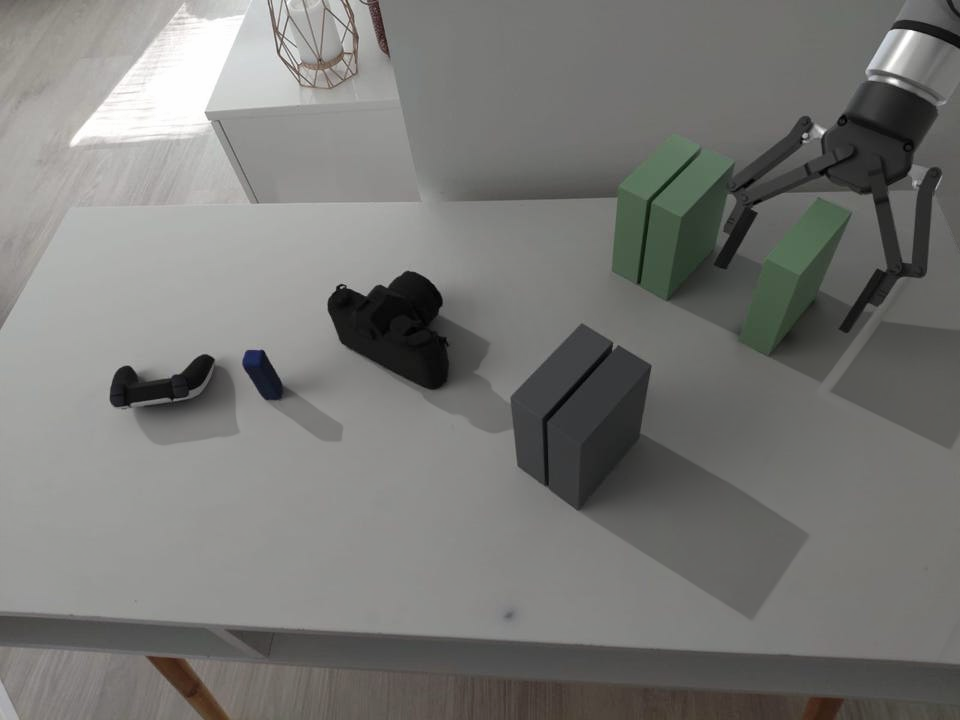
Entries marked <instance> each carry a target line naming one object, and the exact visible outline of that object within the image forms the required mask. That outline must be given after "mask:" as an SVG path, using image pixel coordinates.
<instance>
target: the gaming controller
mask: <svg viewBox="0 0 960 720" xmlns="http://www.w3.org/2000/svg"><path fill="white" fill-rule="evenodd" d="M215 364H216V359H215V358H214V357H213V356H212V355H210V354H208V353H203V354H200V355H199V356H197V357H195V358H194V359H193V360H192V361H191V362H190V363H189V364H188V365H187V367H186V368H185V369H184V370H182V371H181V372H180V373H175V374H173V375H172V376H171V377H168V378H161V379H155V380H148V381H141V382H140V380H139V377H138V374H137V372H136V370H134V368H133V367H132V366H131V365H123V366H121V367H120V368H118V369H117V370H116V371H115V373H114V375H113V377H112V380H111V385H110V388H109V403H110V405H111V407H112V408H113V409H114V410H127V409H133V408H138V407H139V408H140V407H143V408H149V407H153V406H155V405H159V404H167V403H173V402H174V403H176V404H177V403H182V402H185V401H189V400H190V399H192V398H194V399H195V398H197V397H198V396H200V394H201V393H202V392H203V391H204V390H205V388H206V387H207V385H208V383H209V381H210V379H211V377H212V374H213V372H214V367H215Z"/></svg>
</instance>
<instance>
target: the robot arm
mask: <svg viewBox="0 0 960 720" xmlns="http://www.w3.org/2000/svg"><path fill="white" fill-rule="evenodd" d="M865 75H866V77H867V78H866V79H865V80H862V81H861V82H858V84H857V85H856V88H855V89H854V91H853V93H852V94H851V96H850V97H849V99H848V101H847V103H846V104H845V106H844V108H843V109H842V111H841V113H840V115H839V117H837V120H836V122H835V123H834V124H833V125H832V126H830V127H829V128H828V129H827V128H825V127H824V126H821V125H820V124H818V123H816V122H815V121H813V120H812V118H811V117H810V116H808V115H803V116H801V117H800V118H799V119H798V120H797V121H796V123H795V124H794V126H793V127H792V128H791V130H790V132H789V133H788V134H787V135H786V136H784V137H783V138H782V139H781V140H779V141H778V142H776V143H775V144H774V145H773V146H771V147H770V148H769V149H768V150H766V151H765V152H764V153H763V154H761V155H760V156H758V157H757V158H756V159H755V160H753V161H751V163H749V164H748V165H747V166H745V167H744V168H743V169H742V170H740V171H739V172H738V173H736V174H735V175H734V176H732V178H731V179H730V180H729V181H728V182H727V184H726V188H727V190H728V192H729V193H730V194H731V195H732V196H733V197H734V198H735V206H734V207H733V209H732V210H731V213H730V214H729V217H728V218H727V220H726V222H725V223H724V225H723V228H722V229H723V230H722V232H723V233H725V234H727V235H729V236H728V238H727V239H726V241H725V243H724V244H723V247H722V248H721V250H720V252H719V254H718V255H717V257H716V259H715V261H714V263H713V266H715V267H716V268H718V269H722V270H728V268H729V266H730V264H731V262H732V260H733V259H734V257H735V255H736V253H737V251H738V250H739V248H740V246H741V244H742V243H743V241H744V239H745V237H746V236H747V234H748V232H749V230H750V229H751V226H752V225H753V223H754V221H755V220H756V219H757V216H758V214H759V212H757V211H755V210H753V208H754V207H755V206H756V205H760V204H762V203H764V202H766V201H768V200H771V199H772V198H775V197H777V196H780V195H782V194H784V193H786V192H788V191H791V190H793V189H795V188H798V187H800V186H802V185H804V184H806V183H809V182H811V181H813V180H814V181H815V180H818V179H820V178H822V177H824V176H825V177H826V178H827V179H828V180H829V182H830V183H832V184H834V185H836V186H839V187H845V188H846V187H847V188H848V189H850V190H851V191H852V192H853V193H855V194H857V195H860V196H867V195H868V196H869V195H872V200H873V204H874V208H875V212H876V218H877V222H878V228H879V232H880V237H881V238H880V239H881V241H882V242H881V243H882V248H883V253H884V258H885V263H886V270H885V271H883V270H882V269H880V268H876V269H875V270H874V272H873V273H872V275H871V277H870V278H869V280H868V282H867V284H865V286H864V287H863V289H862V291H861V293H860V294H859V295H858V297H857V299H856V300H855V302H854V304H853V305H852V307H851V309H850V310H849V311H848V313H847V315H846V316H845V318H844V320H843V321H842V323H841V324H840V326H839V328H838V331H841V332H843V333H845V334H849V333H850V332H851V330H852V329H853V327H854V326H855V324H856V323H857V321H858V320H859V318H860V316H861V315H862V313H863V311H864V310H865V309H866V306H868V304H870V305H872V306H873V307H875V308H878V307H879V306H881V305H882V304H883V303H884V302H885V301H886V299H887V297H888V296H889V294H890V292H891V291H892V289H893V288H894V286H895V285H896V283H897V281H898V280H900V279H901V278H913V279H922V278H924V277H926V276H927V273H928V263H929V253H930V251H929V250H930V239H931V228H932V227H931V225H932V216H933V215H932V214H933V200H934V196H935V194H936V192H937V190H938V188H939V186H940V184H941V182H942V179H943V172H942V169H941V168H939V166H932V167H928V166H927V167H926V166H922V165H919V164H916V163H913V162H914V157H915V154H916V153H917V151H918V149H919V147H920V146H921V144H922V143H923V141H924V140H925V138H926V136H927V135H928V133H929V131H930V130H931V129H932V127H933V125H934V124H935V122H936V120H937V119H938V117H939V113H938V112H939V110H938V108H937V107H938V106H943V105H945V104H947V102H948V101H949V100H950V97H951V96H952V95H953V92H955V89H956V88H957V86H958V84H960V83H959V82H960V0H906V1H905V2H904V4H903V6H902V7H901V9H900V11H899V12H898V15H897V16H896V19H895V20H894V22H893V23H892V25H891V27H890V29H889V31H888V32H887V34H886V35H885V37H884V39H883V40H882V42H881V44H880V45H879V47H878V49H877V51H876V52H875V54H874V56H873V58H872V59H871V61H870V62H869V65H868V66H867V67H866V69H865ZM818 140H819V141H820V147H821V155H820V156H818V157H816V158H813V159H811V160H809V161H807V162H805V163H804V164H803V165H801V166H799V167H796V168H794V169H792V170H790V171H788V172H786V173H783V174H781V175H779V176H777V177H774V178H772V179H770V180H768V181H766V182H763V183H761V184H759V185H757V186H754V187H752V188H751V189H748V188H750V187H751V186H752V185H754V184H755V183H756V182H757V181H759V180H761V179H762V177H764V176H766V175H767V174H769V172H771V171H772V170H774V169H775V168H776V167H778V166H779V165H780V164H781V163H782V162H784V161H786V160H787V159H788V158H789V157H791V156H792V155H793V154H795V153H796V152H797V151H799V149H800V148H801V147H803V145H805V146H809V145H811V144H813V143H814V142H815V141H818ZM906 177H910V178H911V179H912V182H911V186H912V188H913V190H914V191H916V192H917V195H916V200H915V201H916V202H915V214H914V215H915V216H914V227H913V241H912V254H911V263H910V262H903V257H902V251H901V247H900V243H899V241H900V240H899V237H898V232H897V228H896V227H897V226H896V222H895V218H894V213H893V212H894V211H893V207H892V201H891V196H890V190H889V186H891V185H893V184H895V183H897V182H898V181H901V180H902V179H905V178H906Z"/></svg>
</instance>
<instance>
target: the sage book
mask: <svg viewBox="0 0 960 720" xmlns="http://www.w3.org/2000/svg"><path fill="white" fill-rule="evenodd" d="M852 215H853V212H852V211H851V210H848V209H846V208H844V207H841V206H840V205H837V204H836V203H833V202H830V201H828V200H826V199H823V198H821V197H819V196H818V197H817V198H816V199H815V200H814V201H813V203H812V204H811V205H810V206H809V207H808V208H807V210H806V211H805V212H804V213H803V214H802V215H801V217H800V218H799V219H798V220H797V221H796V222H795V224H794V225H793V226H792V227H790V229H789V230H788V231H787V233H786V234H785V235H784V236H783V237H782V238H781V240H780V241H779V242H778V243H777V244H776V246H775V247H774V248H773V249H772V250H771V251H770V252H769V254H767V256H766V257H765V259H764V261H763V265H762V268H761V271H760V274H759V277H758V280H757V283H756V286H755V289H754V292H753V295H752V298H751V300H750V304H749V308H748V311H747V314H746V316H745V319H744V322H743V325H742V328H741V331H740V334H739V337H738V341H739V342H741V343H743V344H745V345H746V346H748V347H750V348H752V349H754V350H755V351H758V352H759V353H761V354H762V355H764V356H767V357H769V356H770V355H771V354H772V352H774V350H775V349H776V348H777V346H779V344H780V342H781V341H782V340H783V339H784V338H785V336H786V335H787V334H788V332H790V330H791V329H792V328H793V326H794V325H795V324H796V323H797V321H798V320H799V319H800V317H801V316H802V315H803V314H804V312H805V311H807V308H808V307H809V306H810V305H811V304H812V303H813V301H814V299H816V297H817V295H818V292H819V290H820V288H821V285H822V284H823V281H824V278H825V277H826V274H827V271H828V269H829V267H830V265H831V263H832V260H833V258H834V256H835V253H836V251H837V249H838V246H839V244H840V242H841V240H842V237H843V235H844V233H845V231H846V229H847V226H848V224H849V221H850V219H851V217H852Z"/></svg>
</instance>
